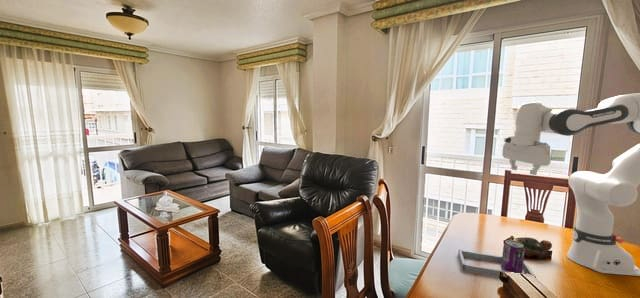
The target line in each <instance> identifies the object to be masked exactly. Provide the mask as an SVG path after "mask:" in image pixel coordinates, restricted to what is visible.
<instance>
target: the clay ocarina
mask: <svg viewBox="0 0 640 298" xmlns="http://www.w3.org/2000/svg"><path fill="white" fill-rule="evenodd" d="M515 241H517V242H520V243H522V244H523V245H524V249H525V253H524V255H525V256H526V257H527V258H531V257H533V256H536V258H537V259H539V260H542V259H543V258H544V257H545V255H546V252H549V251H550V250H551V249H552V247H553V245H552V242H551V241H549V240H546V239H542V240H540V241H539V240H538V239H536V238H532V237H528V236H527V237H519V238H517V239H516V240H515Z"/></svg>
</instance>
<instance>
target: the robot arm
mask: <svg viewBox="0 0 640 298" xmlns="http://www.w3.org/2000/svg"><path fill="white" fill-rule="evenodd" d="M625 123H626V124H627V125H626V126H627V128H628V129H629V130H630V131H631V132H633V133H635V134H639V135H640V92H635V93H629V94H628V93H627V94H622V95H616V96H613V97H610V98H606V99H604V100H601V101H600V103H598V105H597V107H596V108H593V109H587V110H580V109H574V108H571V109H570V108H569V109H554V108H552V107H549V106H546V105H545V104H543V103H542V102H541V101H531V102H530V101H529V102H524V103H522V104H520V105H519V106H518V107H517V111H516V115H515V130H514V135H511V136H507V137H505V138H504V139H503V142H504V144H503V147H502V157H503V159H508V160H509V163H510V170H512V171H517V170H518V165H517V164H516V162H522V163H526V164H531V165H532V167H533V168H532V169H529V175H533V176H536V175H537V174H538V171H539V169H540V168H541V167H545V166H546V167H548V166H549V165H550V164H551V160H552V158H551V156H552V155H551V146H550V145H549V144H548V142H541V132H543V133H548V134H555V135H560V136H561V135H562V136H567V137H568V136H569V137H570V136H574V135H577V134H579V133H581V132H583V131H585V130H586V129H589V128H592V127H598V126H601V125H606V124H607V125H609V124H611V125H612V124H625ZM611 166H612V168H611V169H610V170H609V171H608V172H605V173H603V174H602V173H599V172H594V171H590V170H578V171H574V172H573V173H572V174H570V176H569V178H568V186H569V187H570V189H571V190H572V192H573V196H574V198H575V199H574V200H575V203H576V210H577V211H576V220H575V226H573V232H572V242H571V245H570V248H569V249H568V251H567V253H566V257H567V258H568V259H569V260H570V261H572V262H574V263H576V264H578V265H580V266H583V267H586V268H589V269H591V270H594V271H596V272H598V273H601V274H610V275H611V274H612V275H622V276H634V277H635V276H637V277H640V268H639V267H638V266H637V265H635V259H634V257H633V255H631V254H630V253H629V252H628V251H627V250H625V249H624V248H623V247H622V246H620V245H619V244H623V243H624V239H623V238H621V237H620V236H616V235H615V234H613V229H614V221H615V216H614V214H613V212H612V211H611V210H610V208H609V206H615V207H627V206H630V205H632V204H633V203H635V201H636V200H637V198H638V195H639V194H638V193H639V192H638V189H637V188H638V187H639V185H640V143H637V144H636V145H634V146H633V147H630V148H629V149H628V150H626V151H624V152H623V153H621V154H620V155H618V156H617V157H616V158H614V159H613V161H612V163H611ZM618 243H619V244H618Z"/></svg>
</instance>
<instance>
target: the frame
mask: <svg viewBox="0 0 640 298" xmlns="http://www.w3.org/2000/svg"><path fill="white" fill-rule="evenodd" d="M457 254H458V260H459V263H460V266H461V270H462V271H465V272H469V273H470V272H471V273H477V274H480V275H481V274H482V275H488V276H493V277H498V278H500V277H499V273H500V272H510V271H505V270H504V269H497V268H492V267H486V266H480V265H474V264H469V263H466V262H465V259H464V258H469V259H477V260H481V261H482V260H483V261H488V262H495V263H500V264H502V255H501V256H500V255H495V254H489V253H482V252H476V251H470V250H464V249H458V253H457ZM523 272H524V273H525V274H526V273H528V274H530V275H532V276H534V277H535V278H536V279H537V276H536V275H535V273H534V271H532V269H531V267H530V266H529V265H528V264H527V262H526V261H525V260H524V263H523ZM514 273H516V272H514Z"/></svg>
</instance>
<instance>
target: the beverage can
mask: <svg viewBox="0 0 640 298" xmlns="http://www.w3.org/2000/svg"><path fill="white" fill-rule="evenodd" d="M501 256H502V263H501V270H504V271H510V272H516V273H522V274H523V272H524V269H523V263H524V261H525V249H524V245H523V244H522V243H520V242H517V241H516V240H512V239H506V240H505V241H504V243H503V246H502V255H501Z"/></svg>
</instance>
